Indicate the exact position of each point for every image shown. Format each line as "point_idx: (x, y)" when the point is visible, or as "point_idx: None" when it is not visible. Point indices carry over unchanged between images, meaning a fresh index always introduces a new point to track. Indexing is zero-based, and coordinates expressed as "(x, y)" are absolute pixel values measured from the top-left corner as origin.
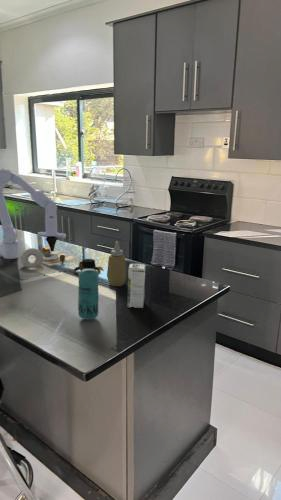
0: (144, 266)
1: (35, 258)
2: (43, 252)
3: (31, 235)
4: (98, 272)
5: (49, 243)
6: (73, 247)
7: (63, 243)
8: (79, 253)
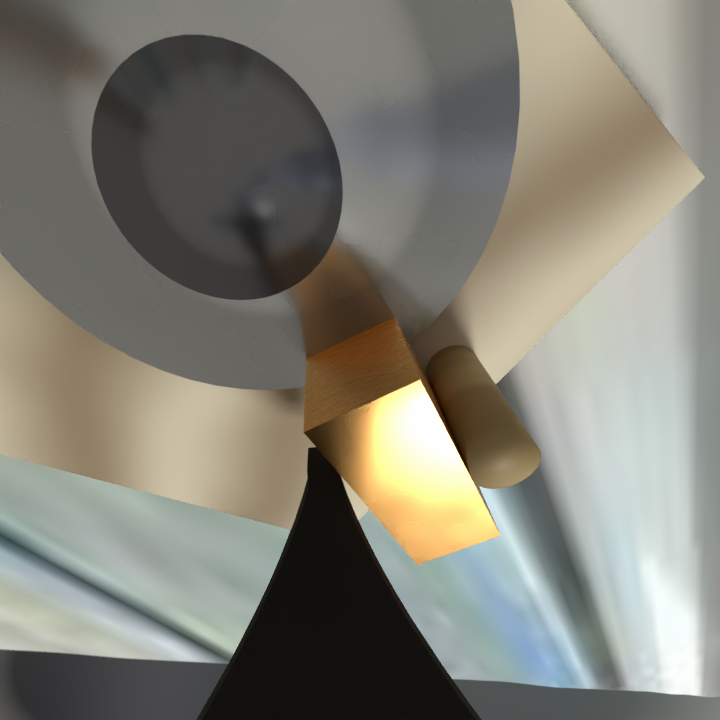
0: None
1: (536, 79)
2: (459, 380)
3: (661, 683)
4: None
5: (359, 610)
6: None
7: None
8: (149, 585)
